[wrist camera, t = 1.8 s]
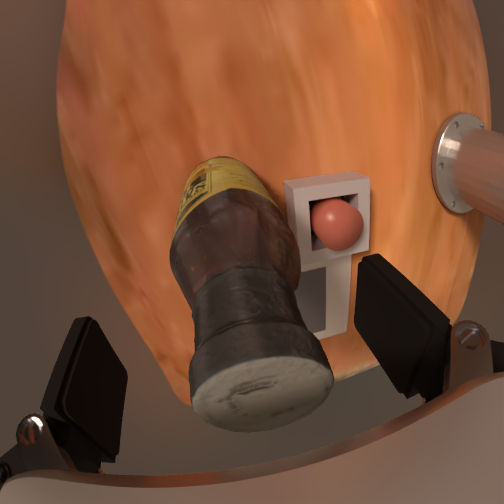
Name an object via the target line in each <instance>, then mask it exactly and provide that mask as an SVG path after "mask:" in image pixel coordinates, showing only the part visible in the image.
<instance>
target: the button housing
mask: <svg viewBox="0 0 504 504" xmlns="http://www.w3.org/2000/svg"><path fill="white" fill-rule="evenodd" d="M283 183H284V192H285V201H286V210H287V219H288V225H289V228H290V229H291V230H292V232H293V234H294V236H295V239H296V241H297V244H298V247H299V251H300V252H299V253H300V258H301V260H300V262H301V265H306V264H310V263H315V262H319V261H324V260H328V259H333V258H337V257H341V256H346V255H350V254H354V253H359V252H363V251H367V250H369V228H370V178H368V177H366V176H364V175H361V174H359V173H357V172H355V171H350V172H342V173H334V174H327V175H319V176H312V177H305V178H299V179H292V180H286V181H283ZM343 195H344V201H346V202H347V203H349V204H350V205H351V206H353V207H354V208H356V209H357V210H358V211H359V212H360V213H361V215H362V217H363V222H364V227H363V232H362V234H361V237H360V238H359V240H358V241H357V242H356V243H355V244H354V245H353V246H352V247H350V248H348V249H346V250H343V251H334V250H331V249H329V248H327V247H326V246H325V245H324V244H323V243H322V241H321V240H320V239H319V238H318V237H317V236H316V235H311V228H310V213H309V201H312V200H318V199H324V198H330V197H337V196H343Z"/></svg>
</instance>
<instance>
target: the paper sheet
mask: <svg viewBox="0 0 504 504" xmlns="http://www.w3.org/2000/svg"><path fill="white" fill-rule="evenodd" d="M350 281H351V254H350V255H346V256H341V257H337V258H333V259H328V260H324V261H319V262H315V263H310V264H306V265H301V275H300V280H299V286H298V288H297V289H296V290H295V291H294V293H295V296H296V300H297V306H298V309H299V310H300V313H301V316H302V319H303V321H304V322H305V325H306V326H307V329H308V330H309V331H310V332H312V333H313V334H314V335H315V336H316V337H317V338H318V340H320V339H323V338H327V337H330V336H334V335H337V334H341V333H344V332H347V325H348V313H349V299H350Z"/></svg>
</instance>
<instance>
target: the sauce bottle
mask: <svg viewBox="0 0 504 504" xmlns="http://www.w3.org/2000/svg"><path fill="white" fill-rule="evenodd" d="M299 252H300V251H299V247H298V244H297V241H296V239H295V236H294V234H293V232H292V230H291V229H290V228H289V225H288V224H287V221H286V219H285V217H284V215H283V214H282V212H281V211H280V209H279V208H278V206H277V205H276V203H275V202H274V200H273V199H272V197H271V196H270V195H269V193H268V192H267V190H266V189H265V187H264V186H263V184H262V183H261V181H260V180H259V179H258V177H257V176H256V174H255V173H254V172H253V171H252V170H251V169H250V168H249V167H248V166H247V165H245V164H244V163H242V162H240V161H238V160H236V159H233V158H230V157H226V156H223V157H215V158H212V159H209V160H207V161H205V162H202V163H201V164H200V165H199V166H198V167H197V168H196V169H195V170H194V171H193V172H192V173H191V174H190V176H189V177H188V179H187V182H186V184H185V188H184V192H183V195H182V199H181V203H180V205H179V211H178V216H177V219H176V224H175V228H174V232H173V236H172V242H171V247H170V266H171V270H172V272H173V274H174V276H175V278H176V280H177V282H178V284H179V286H180V288H181V290H182V292H183V294H184V296H185V298H186V300H187V302H188V304H189V306H190V308H191V310H192V318H193V321H194V325H195V338H194V343H195V353H194V355H193V358H192V360H191V362H190V366H189V383H190V398H191V404H192V407H193V409H194V410H195V413H196V414H197V415H199V417H200V418H202V419H203V420H204V421H206V422H207V423H209V424H212V425H214V426H217V427H219V428H223V429H226V430H230V431H234V432H259V431H266V430H272V429H275V428H279V427H282V426H285V425H288V424H290V423H292V422H295V421H298V420H300V419H302V418H304V417H306V416H307V415H309V414H311V413H312V412H313V411H314V410H316V409H317V408H318V407H319V406H320V405H322V404H323V403H324V401H325V400H326V398H327V396H328V395H329V393H330V391H331V389H332V388H333V385H334V376H333V372H332V369H331V367H330V364H329V362H328V359H327V356H326V354H325V352H324V351H323V348H322V346H321V343H320V341H319V340H318V338H317V337H316V336H315V335H314V334H313V333H312V332H310V331H309V330H308V329H307V326H306V325H305V322H304V321H303V319H302V316H301V313H300V310H299V309H298V306H297V300H296V296H295V293H294V291H295V290H296V289H297V288H298V286H299V280H300V275H301V262H300V260H301V258H300V253H299Z"/></svg>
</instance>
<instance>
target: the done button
mask: <svg viewBox="0 0 504 504" xmlns="http://www.w3.org/2000/svg"><path fill="white" fill-rule="evenodd" d="M309 213H310V228H311V230H312V231H313V232H314V233H315V235H316V236H317V237H318V238H319V239H320V240H321V241H322V243H323V244H324V245H325V246H326V247H327V248H329V249H331V250H334V251H343V250H346V249H348V248H350V247H352V246H353V245H354V244H355V243H356V242H357V241H358V240H359V238H360V237H361V234H362V232H363V227H364V222H363V217H362V215H361V213H360V212H359V211H358V210H357V209H356V208H354V207H353V206H351V205H350V204H349V203H347V202H346V201H344V200H343V199H341V198H339V197H338V196H337V197H330V198H324V199H318V200H317V201H316V202H315V203H314V204H313V205H312V206H311V208H310V211H309Z"/></svg>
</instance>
